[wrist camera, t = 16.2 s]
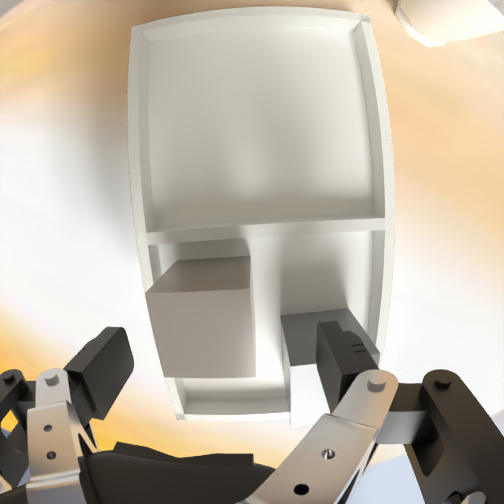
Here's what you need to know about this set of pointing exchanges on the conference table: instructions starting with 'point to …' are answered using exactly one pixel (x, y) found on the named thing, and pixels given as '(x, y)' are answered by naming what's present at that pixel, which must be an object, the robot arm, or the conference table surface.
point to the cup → (449, 19)
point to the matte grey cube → (311, 361)
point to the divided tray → (264, 174)
